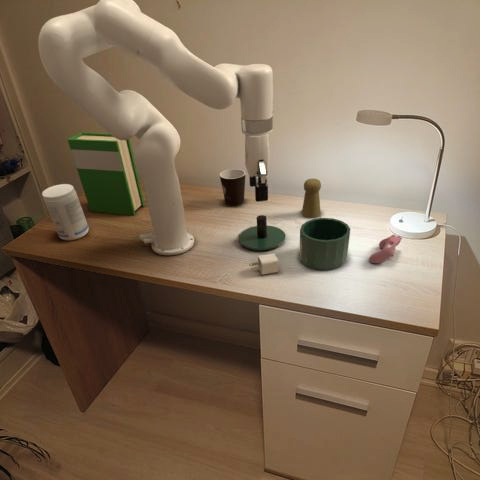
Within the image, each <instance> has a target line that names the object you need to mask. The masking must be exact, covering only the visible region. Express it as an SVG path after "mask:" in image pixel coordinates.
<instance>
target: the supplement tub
mask: <svg viewBox="0 0 480 480" xmlns="http://www.w3.org/2000/svg"><path fill="white" fill-rule="evenodd" d="M41 196H42V199H43V202H44V205H45V207H46V209H47V212H48V215H49V217H50V220H51V221H52V223H53V226H54V229H55V231H56V233H57V235H58V237H59V239H61V240H63V241H76V240H78V239H81V238H83V237H85V236H86V235H87V234H88V233H89V231H90V227H89V224H88V221H87V219H86V216H85V213H84V210H83V208H82V205H81V202H80V198H79V196H78V193H77V191H76V190H75V187H74V186H73V184H70V183H69V184H68V183H61V184H55V185H52V186H50V187H47V188H46V189H44V190H43V191H42V193H41Z"/></svg>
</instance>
